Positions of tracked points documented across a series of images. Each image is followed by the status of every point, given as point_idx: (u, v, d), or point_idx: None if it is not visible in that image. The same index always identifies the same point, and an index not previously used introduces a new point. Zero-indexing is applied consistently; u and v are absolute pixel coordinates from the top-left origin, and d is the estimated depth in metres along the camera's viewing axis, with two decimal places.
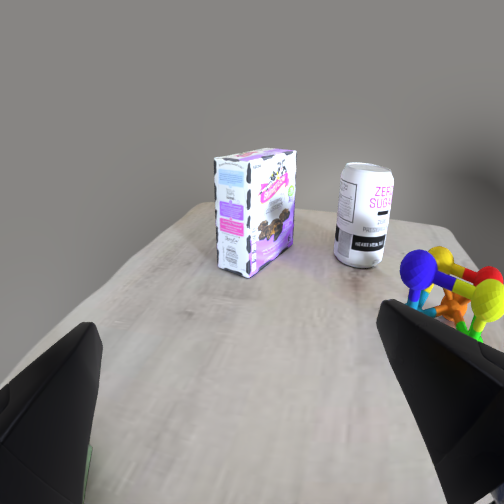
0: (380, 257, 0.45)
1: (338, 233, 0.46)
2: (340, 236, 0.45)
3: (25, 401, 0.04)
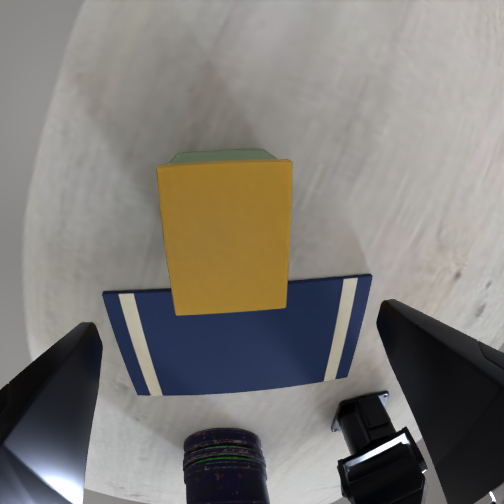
0: None
1: None
2: None
3: (25, 401, 0.04)
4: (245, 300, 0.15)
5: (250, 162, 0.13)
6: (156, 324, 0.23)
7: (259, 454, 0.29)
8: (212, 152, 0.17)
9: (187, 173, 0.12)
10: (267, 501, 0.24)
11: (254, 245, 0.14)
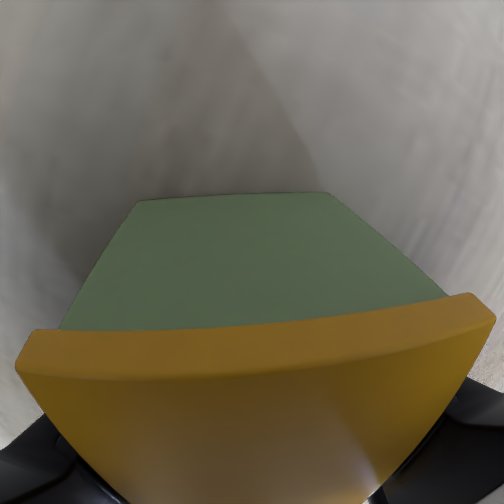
0: None
1: None
2: None
3: None
4: None
5: (391, 346, 0.03)
6: None
7: None
8: (216, 204, 0.07)
9: (127, 398, 0.03)
10: None
11: (334, 482, 0.04)
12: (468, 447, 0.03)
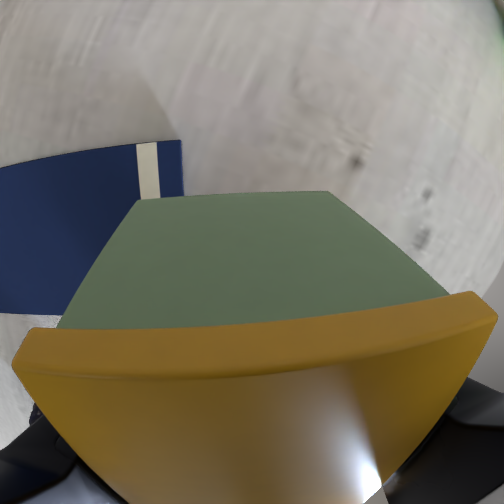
0: None
1: None
2: None
3: None
4: None
5: (393, 345, 0.03)
6: None
7: None
8: (215, 203, 0.07)
9: (124, 398, 0.03)
10: None
11: (334, 483, 0.04)
12: (468, 447, 0.03)
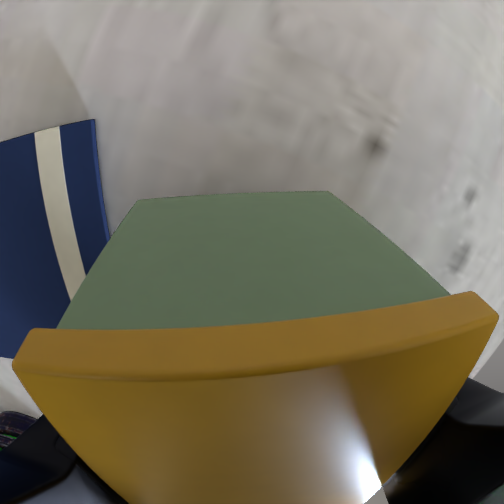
0: None
1: None
2: None
3: None
4: None
5: (394, 345, 0.03)
6: None
7: None
8: (216, 203, 0.07)
9: (125, 398, 0.03)
10: None
11: (335, 483, 0.04)
12: (468, 447, 0.03)
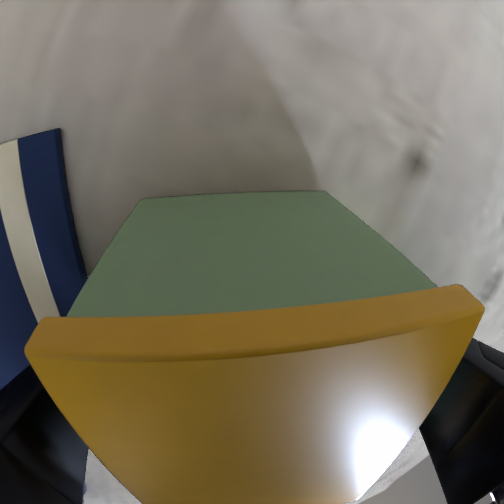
0: None
1: None
2: None
3: (25, 401, 0.04)
4: None
5: (380, 331, 0.03)
6: None
7: None
8: (216, 202, 0.08)
9: (131, 379, 0.03)
10: None
11: (331, 472, 0.05)
12: None
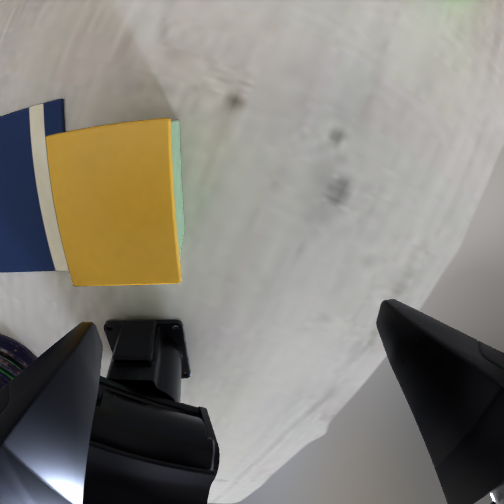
0: None
1: None
2: None
3: (25, 401, 0.04)
4: (135, 272, 0.14)
5: (125, 123, 0.11)
6: None
7: None
8: None
9: (69, 139, 0.11)
10: None
11: (135, 210, 0.13)
12: None
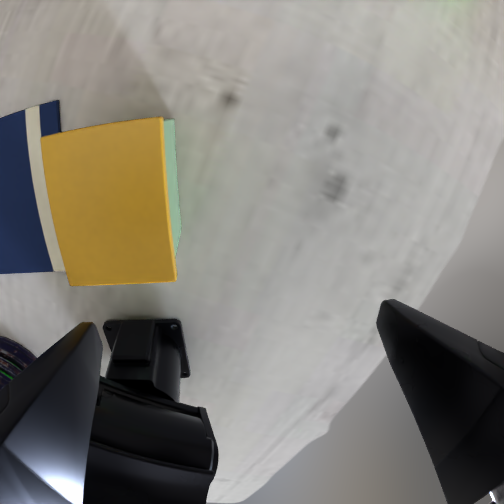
0: None
1: None
2: None
3: (25, 401, 0.04)
4: (130, 271, 0.14)
5: (118, 122, 0.11)
6: None
7: None
8: None
9: (63, 140, 0.11)
10: None
11: (130, 209, 0.12)
12: None
